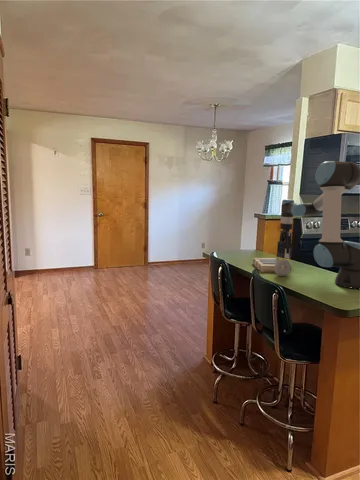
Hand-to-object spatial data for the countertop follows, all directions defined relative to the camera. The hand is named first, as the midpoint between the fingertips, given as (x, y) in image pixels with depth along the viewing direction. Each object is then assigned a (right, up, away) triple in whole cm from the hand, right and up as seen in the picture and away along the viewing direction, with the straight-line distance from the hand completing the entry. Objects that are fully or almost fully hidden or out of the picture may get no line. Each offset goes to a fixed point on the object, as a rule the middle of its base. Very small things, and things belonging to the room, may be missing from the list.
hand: (284, 256), depth 216 cm
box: (0, -1, 0) cm, 1 cm away
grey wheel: (-10, -10, -29) cm, 32 cm away
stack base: (-13, -7, -11) cm, 18 cm away
